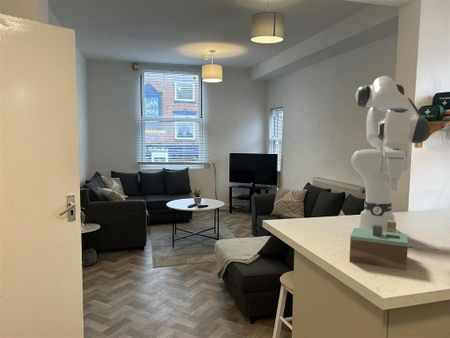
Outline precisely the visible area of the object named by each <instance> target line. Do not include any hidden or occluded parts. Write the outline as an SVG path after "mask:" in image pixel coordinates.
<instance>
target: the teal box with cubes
mask: <svg viewBox="0 0 450 338" xmlns="http://www.w3.org/2000/svg"><path fill="white" fill-rule="evenodd" d="M382 227H383V225H380V224H373V230H367V229H358V228H356V227H355V228H352V231H351V235H350V239H352V240H360V241H368V242H375V243H383V244H391V245H399V246H407V247H408V244H409V242H408V241H409V240H408V233H400V232H398V233H393V232H384V231H382ZM350 239H349V240H350Z"/></svg>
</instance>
